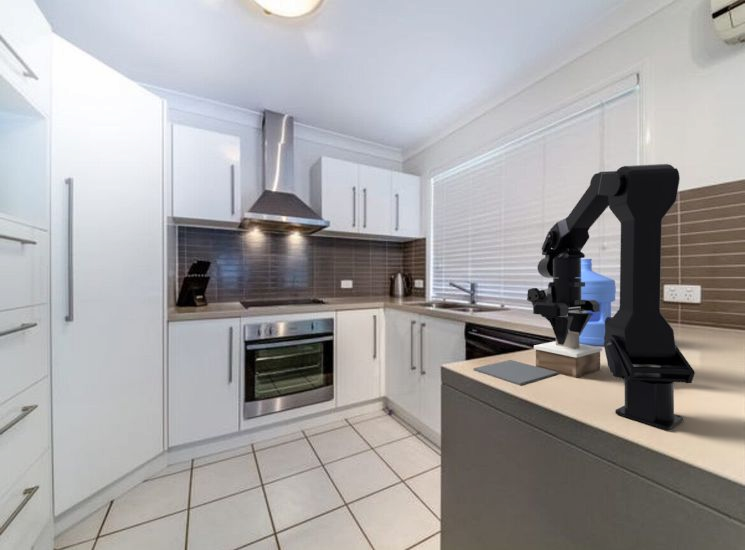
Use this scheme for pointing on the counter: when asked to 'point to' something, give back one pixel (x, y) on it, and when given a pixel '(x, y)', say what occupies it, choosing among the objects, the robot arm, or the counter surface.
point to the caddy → (568, 363)
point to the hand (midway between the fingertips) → (567, 343)
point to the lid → (569, 346)
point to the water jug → (603, 294)
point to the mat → (515, 372)
